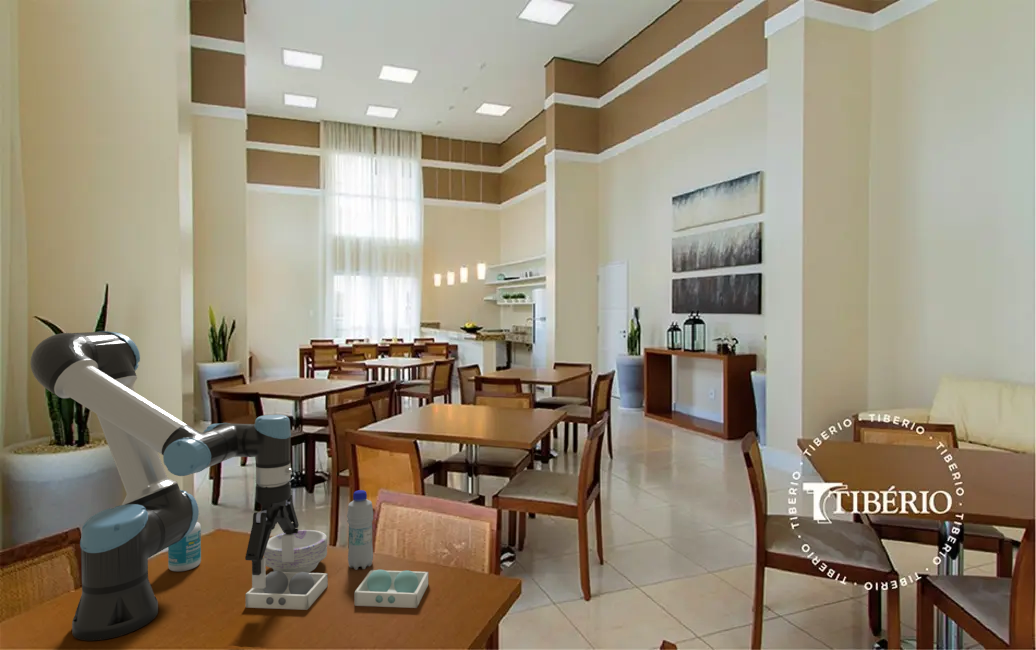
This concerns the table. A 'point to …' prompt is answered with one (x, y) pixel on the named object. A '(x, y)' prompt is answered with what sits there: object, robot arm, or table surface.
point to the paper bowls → (297, 551)
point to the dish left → (287, 595)
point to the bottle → (360, 531)
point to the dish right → (391, 593)
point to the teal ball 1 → (379, 581)
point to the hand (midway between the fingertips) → (274, 574)
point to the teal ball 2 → (406, 582)
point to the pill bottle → (186, 551)
